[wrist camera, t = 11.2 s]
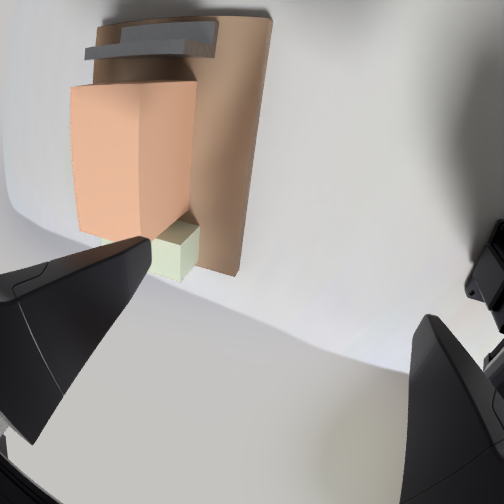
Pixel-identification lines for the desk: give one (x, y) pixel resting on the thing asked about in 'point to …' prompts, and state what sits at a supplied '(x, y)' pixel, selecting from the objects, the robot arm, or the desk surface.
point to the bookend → (161, 42)
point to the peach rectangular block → (131, 155)
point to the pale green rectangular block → (173, 250)
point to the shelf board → (211, 124)
